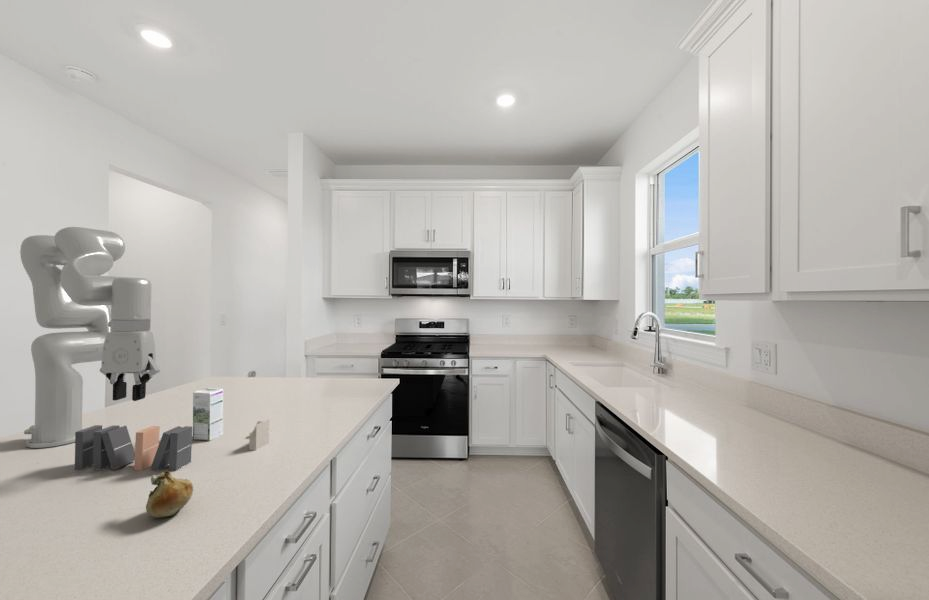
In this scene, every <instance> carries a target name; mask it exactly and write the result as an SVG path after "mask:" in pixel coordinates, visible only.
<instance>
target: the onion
mask: <svg viewBox="0 0 929 600" xmlns="http://www.w3.org/2000/svg"><path fill="white" fill-rule="evenodd" d="M171 472H172V471H169V470H165V472H164V471H163V472H161V473H160V474H159V475H155V474H153V475H152V476H151V477H150V484H151V485H154V486H155V488H154V489H153V490H150V491H149V494H148V499H147V502H146V504H145V511H146V513H147V514H148V515H149V516H151V517H152V518H156V519H159V518H166V517H172V516H174V515H175V514H178V513H179V512H180V511H181V510H182V509H183V508H184V507H185V506H186V505H187V504H188V503H189V501H190V499H192V496H193V493H194V485H193V483H192V482H191V481H190V480H189V479H182V478H175V477H174V476H172V473H171Z"/></svg>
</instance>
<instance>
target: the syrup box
mask: <svg viewBox="0 0 929 600" xmlns="http://www.w3.org/2000/svg"><path fill="white" fill-rule="evenodd" d="M221 436H224V388H208V387H207V388H202V389H198V390H196V391H193V393H192V441H205V440H206V441H209V442H210V441H213V440H215V439H217V438H219V437H221ZM214 438H215V439H214ZM212 439H213V440H212Z"/></svg>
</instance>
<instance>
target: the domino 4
mask: <svg viewBox="0 0 929 600" xmlns="http://www.w3.org/2000/svg"><path fill="white" fill-rule="evenodd" d="M160 428H161V426H159V425H151V426H149V427H146V428H144V429H141V430H139V431H136V432H135V443H134V445H135V446H134V451H135V461H133V462H134V464H133V465H134V466H133V470H134V471H144V470H146V469H147V468H149V467H151V466H150V465H152V463H153V460H154V457H155V454H156V452H157V449H158V446H159V443H160Z"/></svg>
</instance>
